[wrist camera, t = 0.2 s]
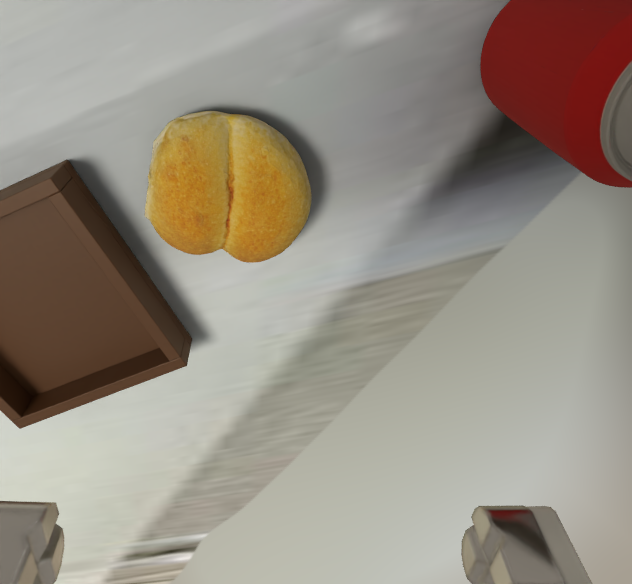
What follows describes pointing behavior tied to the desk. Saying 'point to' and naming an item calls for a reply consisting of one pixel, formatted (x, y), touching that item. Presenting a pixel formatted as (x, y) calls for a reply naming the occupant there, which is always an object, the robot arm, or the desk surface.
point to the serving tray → (74, 303)
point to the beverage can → (567, 79)
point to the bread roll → (226, 186)
